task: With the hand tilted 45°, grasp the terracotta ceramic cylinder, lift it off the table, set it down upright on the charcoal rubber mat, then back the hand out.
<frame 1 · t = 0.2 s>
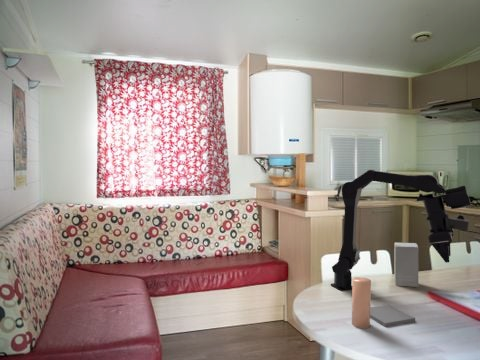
hand: (448, 259, 120), 15 cm above the table, tool pointing down, fingers open, 9 cm apart
mat: (386, 316, 112), on the table
terracotta cylinder: (360, 324, 107), on the table
skincare box: (405, 285, 142), on the table
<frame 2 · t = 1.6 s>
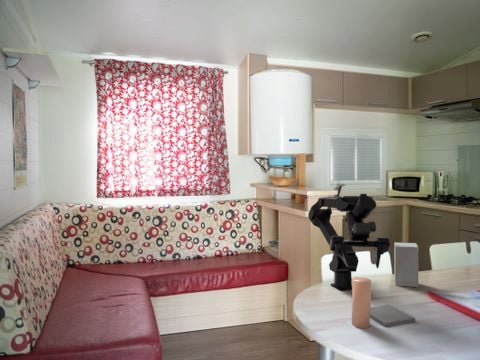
hand: (362, 267, 118), 13 cm above the table, tool tilted 45°, fingers open, 9 cm apart
nothing on the table moved.
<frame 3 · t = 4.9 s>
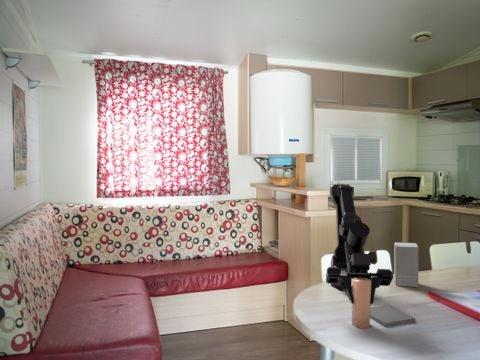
hand: (362, 303, 105), 7 cm above the table, tool tilted 45°, fingers closed on terracotta cylinder, 5 cm apart
terracotta cylinder: (360, 324, 107), on the table, touching gripper
everything else where it was.
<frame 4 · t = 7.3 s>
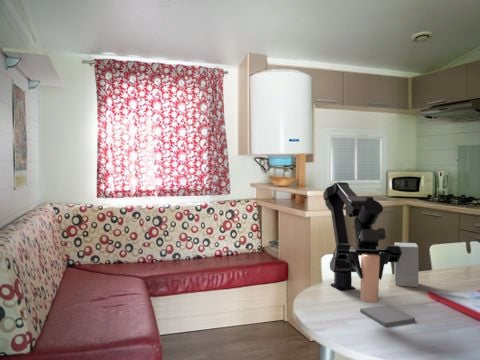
hand: (370, 278, 107), 13 cm above the table, tool tilted 45°, fingers closed on terracotta cylinder, 5 cm apart
terracotta cylinder: (369, 299, 108), point 7 cm above the table, touching gripper
everything else where it was.
when the fingers open (8 cm above the table, at t = 9.5 s): terracotta cylinder stays where it is, resting on mat.
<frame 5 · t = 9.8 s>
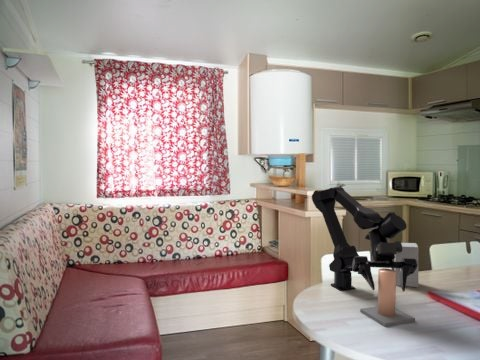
hand: (388, 290, 110), 9 cm above the table, tool tilted 45°, fingers open, 8 cm apart
terracotta cylinder: (386, 313, 112), point 1 cm above the table, touching mat
everything else where it was.
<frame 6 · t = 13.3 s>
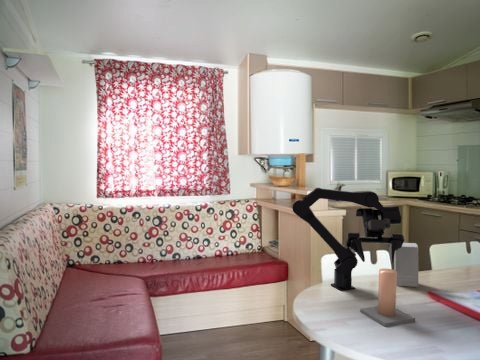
hand: (378, 261, 123), 14 cm above the table, tool tilted 45°, fingers open, 9 cm apart
nothing on the table moved.
at the end: terracotta cylinder inside the target area on the mat (0.1 cm from its centre), point 1.0 cm above the mat's base; terracotta cylinder tilted 1°; the gripper is holding nothing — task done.
